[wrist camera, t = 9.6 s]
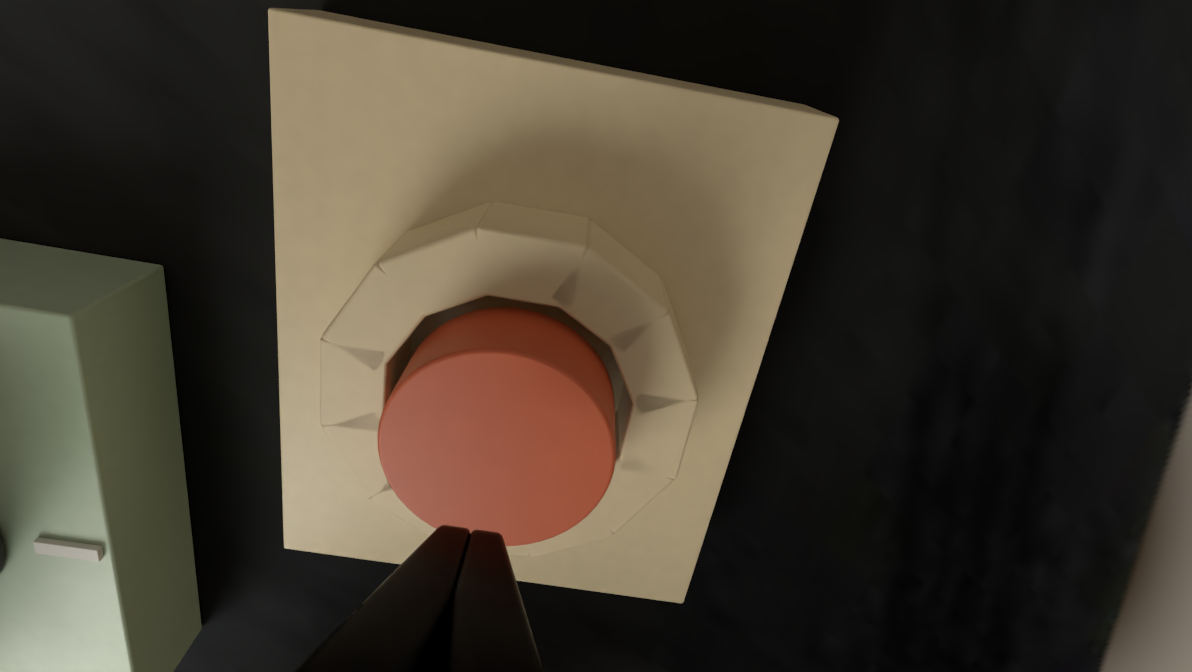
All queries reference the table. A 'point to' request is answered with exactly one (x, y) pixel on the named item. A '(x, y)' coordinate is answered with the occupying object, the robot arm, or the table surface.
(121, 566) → the dial panel
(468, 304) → the orange button cream base
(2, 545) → the dial
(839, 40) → the table surface
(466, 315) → the red push button
